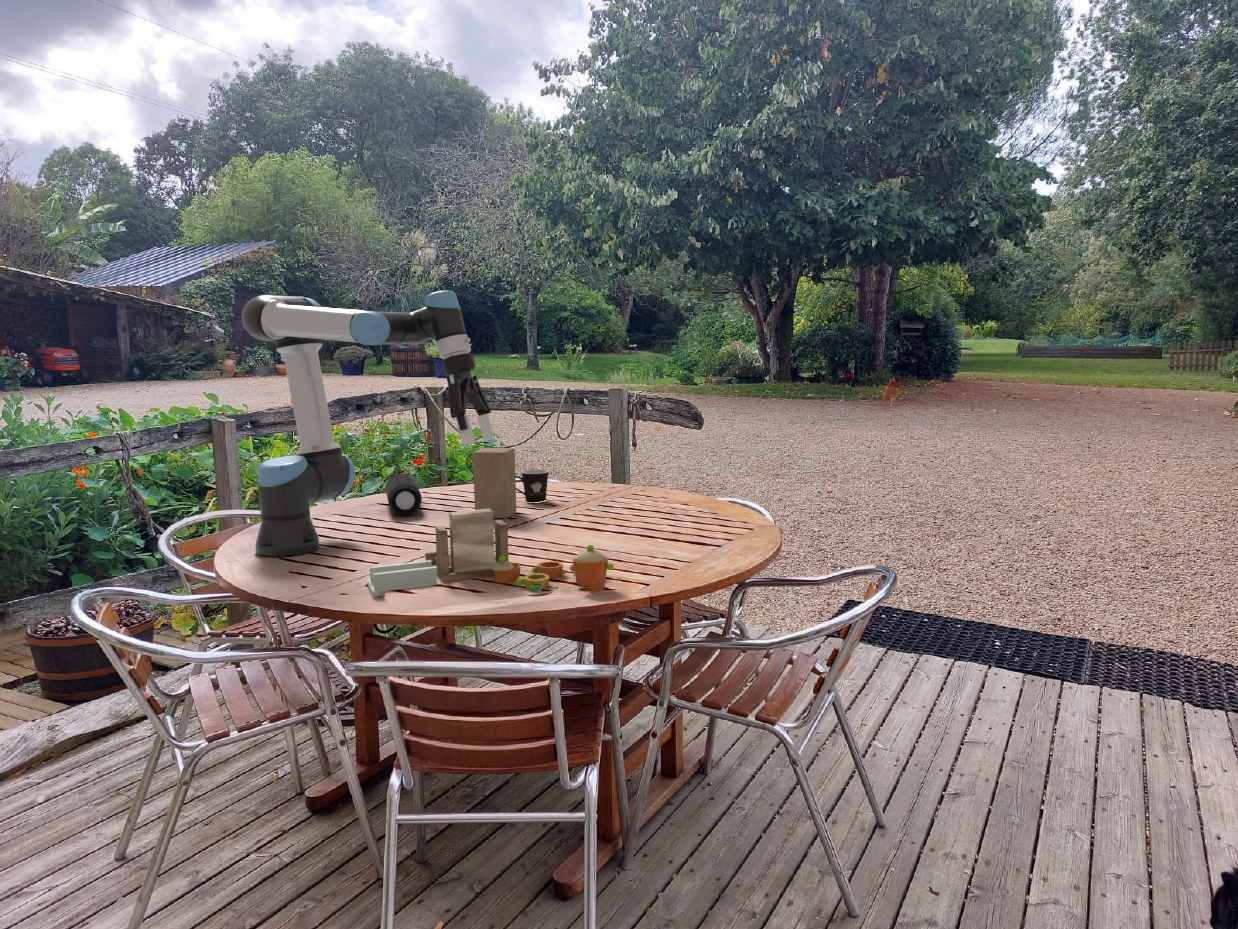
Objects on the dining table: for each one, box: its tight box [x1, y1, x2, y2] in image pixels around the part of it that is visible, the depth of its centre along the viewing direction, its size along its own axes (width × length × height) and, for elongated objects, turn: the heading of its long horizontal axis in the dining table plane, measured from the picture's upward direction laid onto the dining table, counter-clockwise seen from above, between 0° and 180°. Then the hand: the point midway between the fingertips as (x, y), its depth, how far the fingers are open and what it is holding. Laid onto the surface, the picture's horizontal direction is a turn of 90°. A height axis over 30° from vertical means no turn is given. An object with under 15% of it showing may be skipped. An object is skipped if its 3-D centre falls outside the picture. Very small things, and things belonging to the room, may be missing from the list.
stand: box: [366, 560, 442, 598], centre depth 179 cm, size 10×14×4 cm
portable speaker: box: [384, 473, 423, 517], centre depth 262 cm, size 26×10×10 cm, turn 18°
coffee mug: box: [515, 469, 549, 502], centre depth 272 cm, size 12×9×10 cm
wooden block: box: [472, 447, 517, 520], centre depth 250 cm, size 10×10×20 cm
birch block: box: [448, 509, 496, 573], centre depth 183 cm, size 3×9×14 cm, turn 113°
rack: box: [424, 519, 509, 583], centre depth 189 cm, size 17×16×12 cm
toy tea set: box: [491, 544, 615, 598], centre depth 179 cm, size 26×16×10 cm, turn 107°
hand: (479, 442), depth 200 cm, fingers open, 13 cm apart
